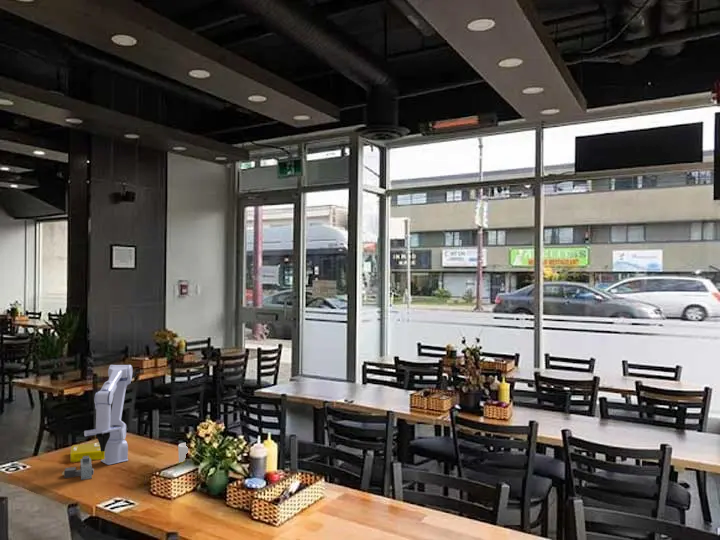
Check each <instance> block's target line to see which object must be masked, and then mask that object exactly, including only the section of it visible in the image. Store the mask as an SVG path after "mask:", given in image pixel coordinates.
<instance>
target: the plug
mask: <svg viewBox="0 0 720 540" xmlns="http://www.w3.org/2000/svg"><path fill="white" fill-rule="evenodd" d="M94 471H95V468H93V467H92V476H93V475H94V474H95V473H94ZM61 475H62V476H64V477H63V478H64V479H67V478H75V477H81V470H80V469H77V467H76V466H75V467H74V466H73V467H65V469H64V470H63V471H62V472H61Z"/></svg>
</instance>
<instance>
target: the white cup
mask: <svg viewBox="0 0 720 540" xmlns="http://www.w3.org/2000/svg"><path fill="white" fill-rule="evenodd" d="M177 447H178V448H177V449H178V450H177V452H178V453H177V454H178V464H179V463H180V462H183V461H184V460H185V458H186V454H187V453H188V447H187V446H186V442H181V443H179V444H178V446H177Z"/></svg>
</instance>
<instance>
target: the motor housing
mask: <svg viewBox="0 0 720 540" xmlns="http://www.w3.org/2000/svg"><path fill="white" fill-rule="evenodd" d="M92 468H93V465H92V460H91V458H89V456H83V459H81V462H80V469H79V470H81V476H80V480H82V481H84V480H91V479H92V478H93V477H92V476H93V475H92Z"/></svg>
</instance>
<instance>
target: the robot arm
mask: <svg viewBox="0 0 720 540" xmlns="http://www.w3.org/2000/svg"><path fill="white" fill-rule="evenodd" d="M133 370H134V369H133V365H131V364H110V365H109V367H108V369H107V374H108V375H107V376H108V380H107V381H105V382H104V383H103V385H102V387H101V388H100V390H99V391H97V392H95V394H94V398H93V400H94V406H95V407H94V409H95V414H96V415H95V418H96V419H95V428H94V429H88V430H84V431H83V433H84V434H83V435H84V437H89V436H95V437H96V438H97V441H98V443H99V444H100V449H101V452H102V451H105V459H101V460H100V462H102V463H104V464H105V465H107V466H110V465H114V464H118V463H119V464H120V463H123V462H128V461H129V459H128V457H129V445H128V442H127V440H126V437H127V424H126V423H125V422H124V421H123V420H122V417H123V410H124V403H125V398H126V390H127V388H128V386H129V385H131V383H132V378H133V373H134V372H133Z"/></svg>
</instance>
